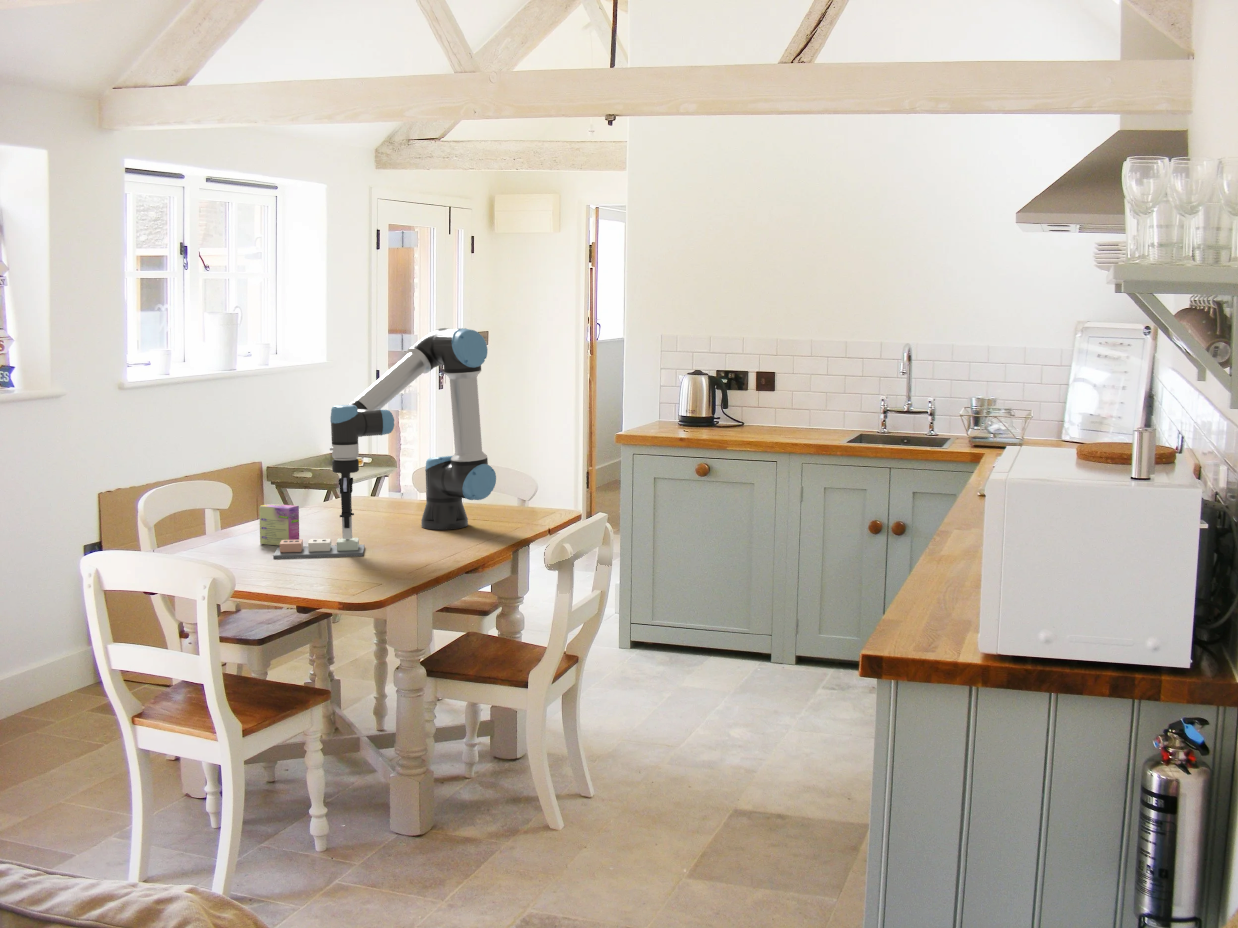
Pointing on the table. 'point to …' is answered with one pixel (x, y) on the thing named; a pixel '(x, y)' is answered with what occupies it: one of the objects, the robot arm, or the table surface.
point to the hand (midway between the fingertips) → (347, 538)
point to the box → (278, 523)
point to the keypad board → (319, 553)
